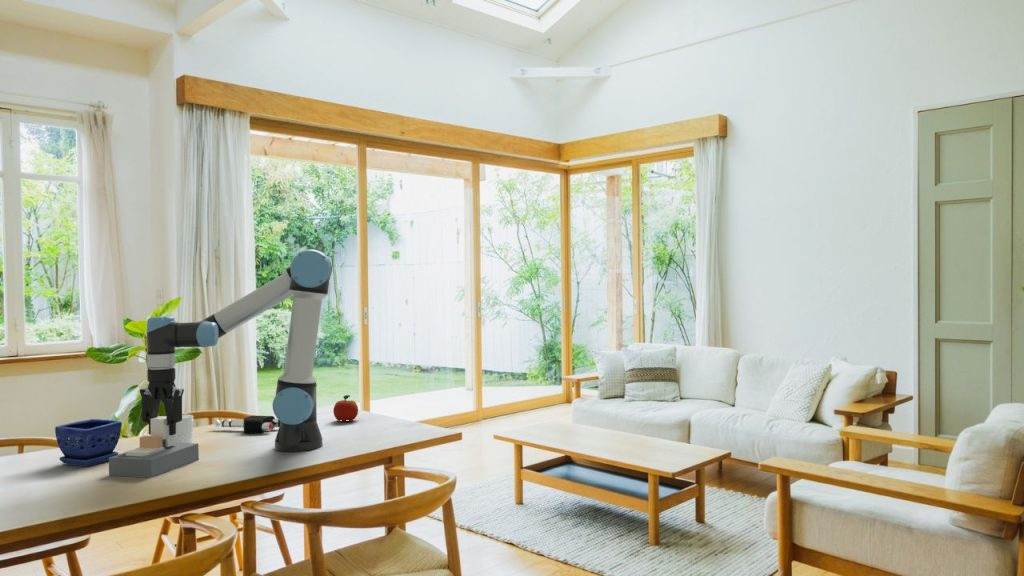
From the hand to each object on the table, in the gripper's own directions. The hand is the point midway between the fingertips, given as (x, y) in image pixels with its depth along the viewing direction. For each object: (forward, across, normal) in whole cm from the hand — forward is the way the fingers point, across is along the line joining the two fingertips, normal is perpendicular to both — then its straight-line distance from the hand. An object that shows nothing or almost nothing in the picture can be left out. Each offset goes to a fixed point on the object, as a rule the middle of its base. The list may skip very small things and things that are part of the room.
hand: (162, 445), depth 207 cm
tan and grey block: (+1, 0, +7) cm, 7 cm away
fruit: (+6, -25, -71) cm, 76 cm away
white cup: (+6, +11, -22) cm, 25 cm away
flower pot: (+6, +25, +1) cm, 26 cm away
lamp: (+6, +5, -48) cm, 49 cm away
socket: (+6, 0, +3) cm, 7 cm away
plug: (+3, 0, 0) cm, 3 cm away
